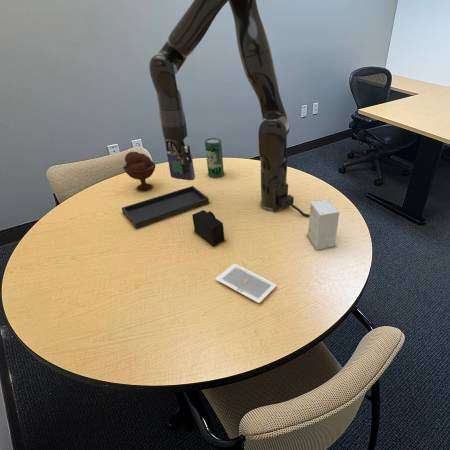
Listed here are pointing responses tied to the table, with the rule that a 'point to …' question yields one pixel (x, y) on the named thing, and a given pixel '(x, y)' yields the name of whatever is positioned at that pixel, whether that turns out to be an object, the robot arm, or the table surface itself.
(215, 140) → the can
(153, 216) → the tray
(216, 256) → the table surface
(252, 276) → the touchpad
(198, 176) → the table surface
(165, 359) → the table surface
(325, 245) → the small box
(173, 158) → the flask
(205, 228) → the digital camera
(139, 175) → the ice cream bowl
